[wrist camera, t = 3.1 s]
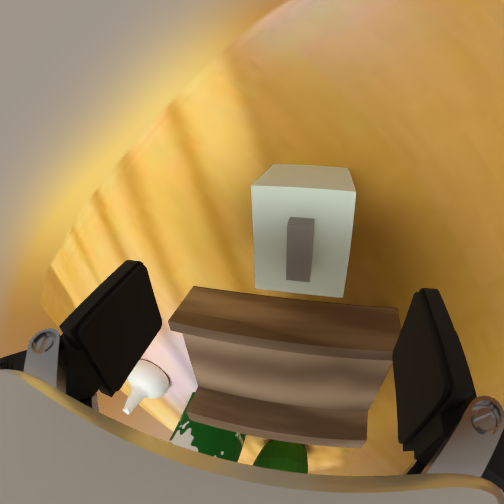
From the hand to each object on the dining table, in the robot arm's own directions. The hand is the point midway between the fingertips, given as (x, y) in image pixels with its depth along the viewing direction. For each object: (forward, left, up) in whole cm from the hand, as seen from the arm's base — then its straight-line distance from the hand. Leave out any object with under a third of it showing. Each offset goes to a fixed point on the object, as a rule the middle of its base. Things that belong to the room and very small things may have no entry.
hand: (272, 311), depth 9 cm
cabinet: (0, 0, -12) cm, 12 cm away
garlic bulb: (+20, +25, -12) cm, 34 cm away
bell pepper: (0, +38, -12) cm, 40 cm away
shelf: (+1, +15, -12) cm, 19 cm away
